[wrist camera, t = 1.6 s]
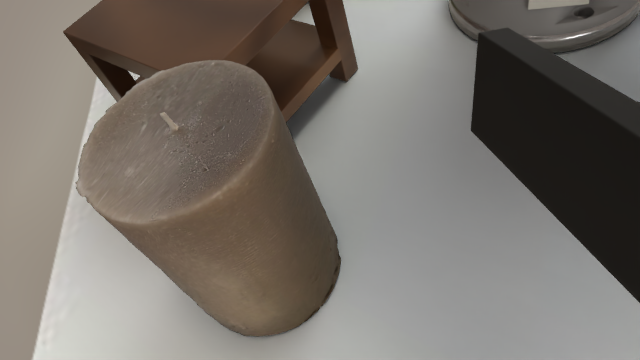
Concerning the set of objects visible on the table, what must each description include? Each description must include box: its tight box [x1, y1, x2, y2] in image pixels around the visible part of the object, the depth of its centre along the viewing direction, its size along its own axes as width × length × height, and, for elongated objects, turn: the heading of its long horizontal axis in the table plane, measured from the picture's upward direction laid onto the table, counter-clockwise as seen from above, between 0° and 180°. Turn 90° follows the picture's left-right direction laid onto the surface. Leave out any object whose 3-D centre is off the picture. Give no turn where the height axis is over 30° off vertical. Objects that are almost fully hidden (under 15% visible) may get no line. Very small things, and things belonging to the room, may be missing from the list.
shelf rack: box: [63, 0, 358, 122], centre depth 40 cm, size 14×15×11 cm
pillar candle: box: [76, 60, 341, 336], centre depth 27 cm, size 10×10×15 cm
